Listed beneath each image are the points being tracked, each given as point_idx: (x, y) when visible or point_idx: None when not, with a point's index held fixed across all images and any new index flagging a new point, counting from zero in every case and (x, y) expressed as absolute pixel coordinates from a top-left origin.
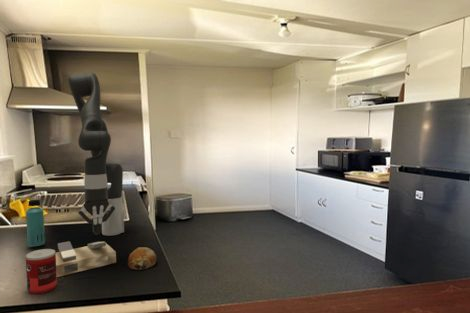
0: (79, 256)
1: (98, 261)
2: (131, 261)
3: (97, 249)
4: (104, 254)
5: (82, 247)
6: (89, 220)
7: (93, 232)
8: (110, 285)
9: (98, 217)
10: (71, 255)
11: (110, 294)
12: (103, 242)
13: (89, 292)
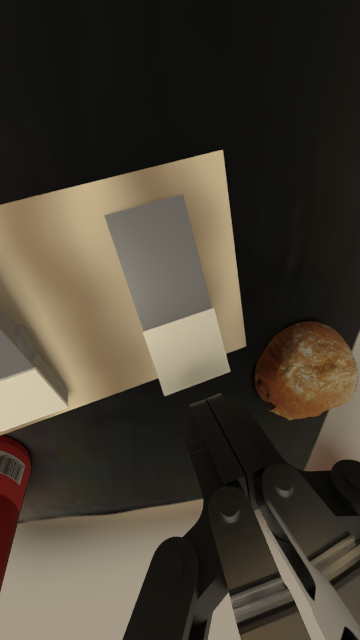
0: (79, 359)
1: None
2: (271, 402)
3: None
4: None
5: (66, 200)
6: (194, 637)
7: (184, 429)
8: (188, 462)
9: (310, 598)
10: (42, 413)
11: (184, 494)
12: (217, 375)
13: (138, 486)
